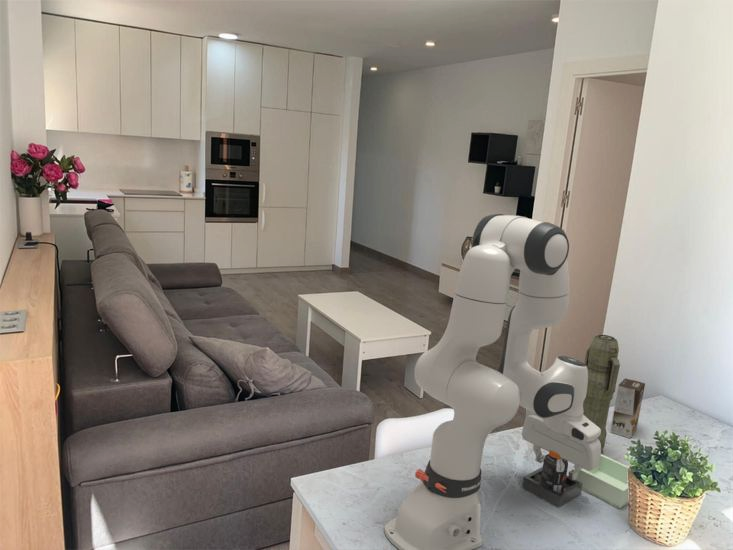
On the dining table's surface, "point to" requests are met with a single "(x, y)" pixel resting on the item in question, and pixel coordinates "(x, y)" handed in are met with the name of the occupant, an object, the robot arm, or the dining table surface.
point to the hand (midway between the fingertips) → (555, 469)
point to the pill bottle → (554, 472)
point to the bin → (606, 482)
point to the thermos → (601, 381)
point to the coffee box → (627, 407)
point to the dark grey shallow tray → (548, 494)
